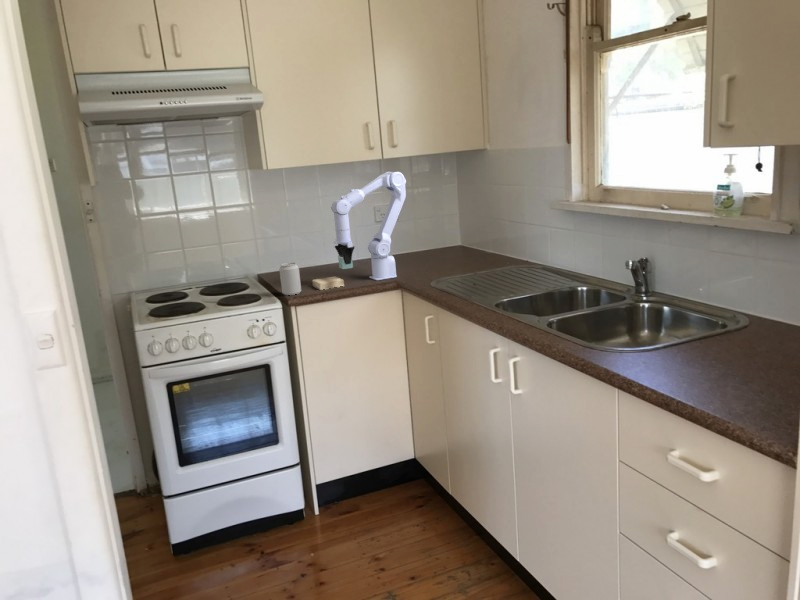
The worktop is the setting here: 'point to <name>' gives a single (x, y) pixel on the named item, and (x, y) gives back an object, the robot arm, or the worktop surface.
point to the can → (290, 279)
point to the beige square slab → (327, 283)
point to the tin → (342, 263)
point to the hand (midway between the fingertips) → (346, 263)
